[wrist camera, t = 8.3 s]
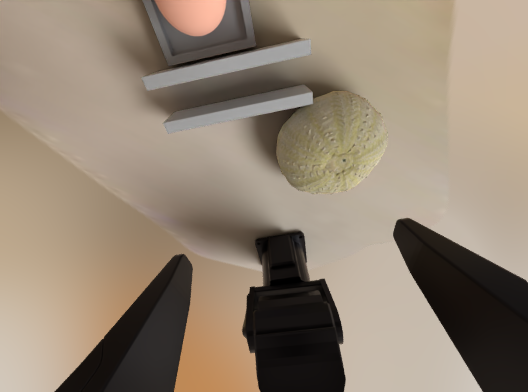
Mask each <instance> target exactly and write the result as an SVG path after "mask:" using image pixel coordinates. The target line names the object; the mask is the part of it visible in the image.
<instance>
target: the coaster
mask: <svg viewBox="0 0 528 392" xmlns="http://www.w3.org/2000/svg"><path fill="white" fill-rule="evenodd" d="M142 1H143V3H144V6H145V8H146V11H147V13H148V16H149V18H150V21H151V23H152V26H153V28H154V31H155V33H156V36H157V38H158V41H159V44H160V46H161V49H162V51H163V54H164V56H165V59H166V61H167V64H168V66H172V65H176V64H180V63H185V62H189V61H194V60H198V59H202V58H207V57H211V56H215V55H220V54H224V53H228V52H233V51H237V50H242V49H246V48H250V47H255V46H256V41H255V35H254V29H253V23H252V18H251V12H250V6H249V0H226V8H225V12H224V15H223V18H222V20H221V22H220V24H219V25H218V26H217V27H216V28H215V29H214V30H213V31H212V32H210V33H209V34H206V35H203V36H190V35H187V34H184V33H182V32H180V31H179V30H177V29H176V28H175V27H173V26H172V25H171V24H170V23H169V22H168V21H167V20H166V18H165V17H164V16H163V14H162V13H161V11H160V10H159V8H158V6H157V4H156V2H155V0H142Z"/></svg>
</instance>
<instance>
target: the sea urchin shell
mask: <svg viewBox="0 0 528 392" xmlns="http://www.w3.org/2000/svg"><path fill="white" fill-rule="evenodd" d="M387 135H388V132H387V130H386V127H385V124H384V122H383V118H382V116H381V113H379V112H377V111H376V110H375V108H374V107H372V105H371V104H370V103H369V102H368V100H366V99H365V98H362V97H360V96H359V95H355V94H353V93H350V92H348V91H332V92H330V93H328V94H325V95H322V96H318V97H317V98H314V99H313V104H310V105H306V106H303V107H301V108H298V109H297V111H296V112H294V113H293V115H292V116H291V117H290V118H289V119H288V120H287V121H286V122H285V123H284V125H283V126H282V128H281V130H280V132H279V134H278V138H277V151H276V155H277V160H278V163H279V166H280V169H281V172H282V174H283V175H284V176H285V177H286V179H287V181H288V182H289V183H290V184H291V185H292V186H293V187H295V188H296V189H298V190H300V191H306V192H309V193H312V194H333V193H337V192H343V191H348V190H350V189H352V188H354V187H355V186H356V185H358V184H359V183H360V182H361V181H362V180H363V179H364V178H366V177H367V175H368V174H369V173H370V172H371V170H372V169H373V168H374V167H375V166H376V165H377V164H378V163H379V161H380V159H381V157H382V155H383V153H384V151H385V150H386V147H387V138H388V136H387Z"/></svg>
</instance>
